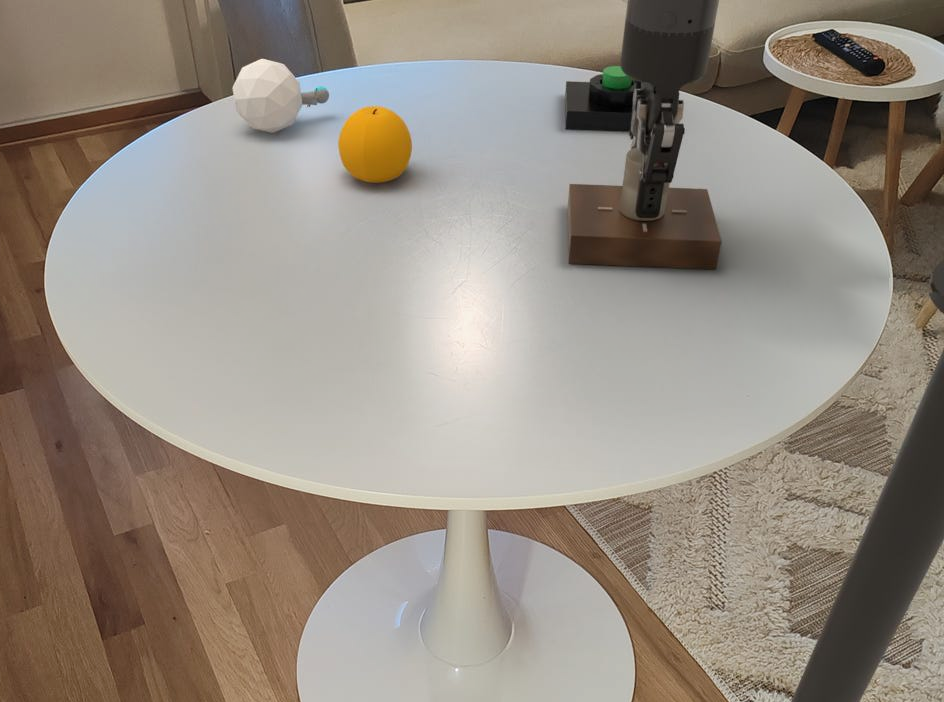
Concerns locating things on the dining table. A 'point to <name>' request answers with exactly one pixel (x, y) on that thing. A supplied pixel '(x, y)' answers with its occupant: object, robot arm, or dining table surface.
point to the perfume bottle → (271, 96)
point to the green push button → (615, 78)
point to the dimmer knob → (636, 187)
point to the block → (598, 106)
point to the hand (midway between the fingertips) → (643, 203)
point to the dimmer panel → (641, 230)
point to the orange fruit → (375, 145)
